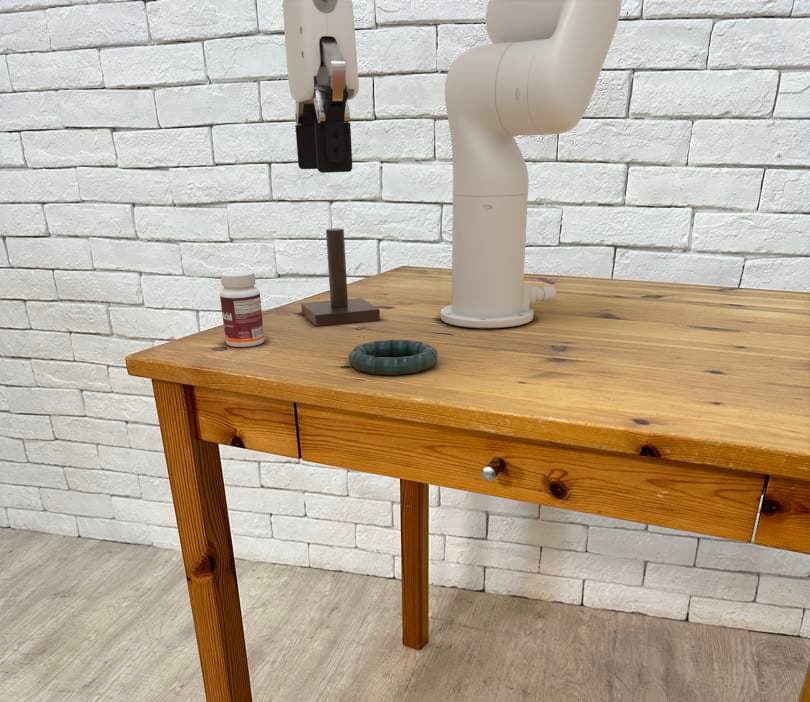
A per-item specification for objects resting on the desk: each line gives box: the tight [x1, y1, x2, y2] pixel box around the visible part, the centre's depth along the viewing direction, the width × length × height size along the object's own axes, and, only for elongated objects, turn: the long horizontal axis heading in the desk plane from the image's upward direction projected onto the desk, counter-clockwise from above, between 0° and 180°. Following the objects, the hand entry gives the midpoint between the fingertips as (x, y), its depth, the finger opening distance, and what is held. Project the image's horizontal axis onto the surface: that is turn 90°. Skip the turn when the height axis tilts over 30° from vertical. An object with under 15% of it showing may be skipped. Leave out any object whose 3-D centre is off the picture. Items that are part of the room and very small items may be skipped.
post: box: [300, 227, 381, 327], centre depth 105 cm, size 9×9×12 cm
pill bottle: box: [219, 269, 265, 348], centre depth 93 cm, size 5×5×8 cm
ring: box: [348, 339, 439, 376], centre depth 85 cm, size 10×10×2 cm
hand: (324, 170), depth 75 cm, fingers open, 9 cm apart
